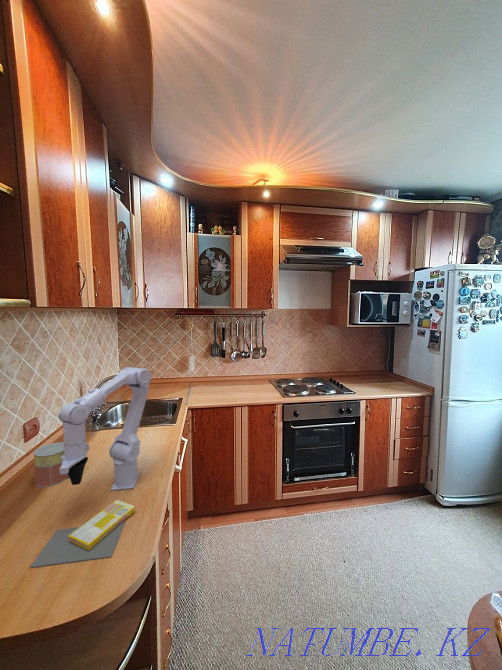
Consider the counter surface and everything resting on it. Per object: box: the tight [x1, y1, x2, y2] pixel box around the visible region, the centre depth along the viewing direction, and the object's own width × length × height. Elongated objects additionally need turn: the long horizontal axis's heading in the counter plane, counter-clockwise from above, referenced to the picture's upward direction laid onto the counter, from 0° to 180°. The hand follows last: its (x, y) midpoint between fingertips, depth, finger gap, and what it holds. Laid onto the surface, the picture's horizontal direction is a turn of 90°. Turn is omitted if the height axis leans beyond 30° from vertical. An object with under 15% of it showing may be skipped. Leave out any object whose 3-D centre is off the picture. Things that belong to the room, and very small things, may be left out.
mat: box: [29, 521, 126, 569], centre depth 74 cm, size 12×19×1 cm, turn 99°
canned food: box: [33, 441, 69, 488], centre depth 104 cm, size 11×11×12 cm
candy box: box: [68, 499, 136, 550], centre depth 80 cm, size 16×2×8 cm
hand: (76, 483), depth 84 cm, fingers closed
